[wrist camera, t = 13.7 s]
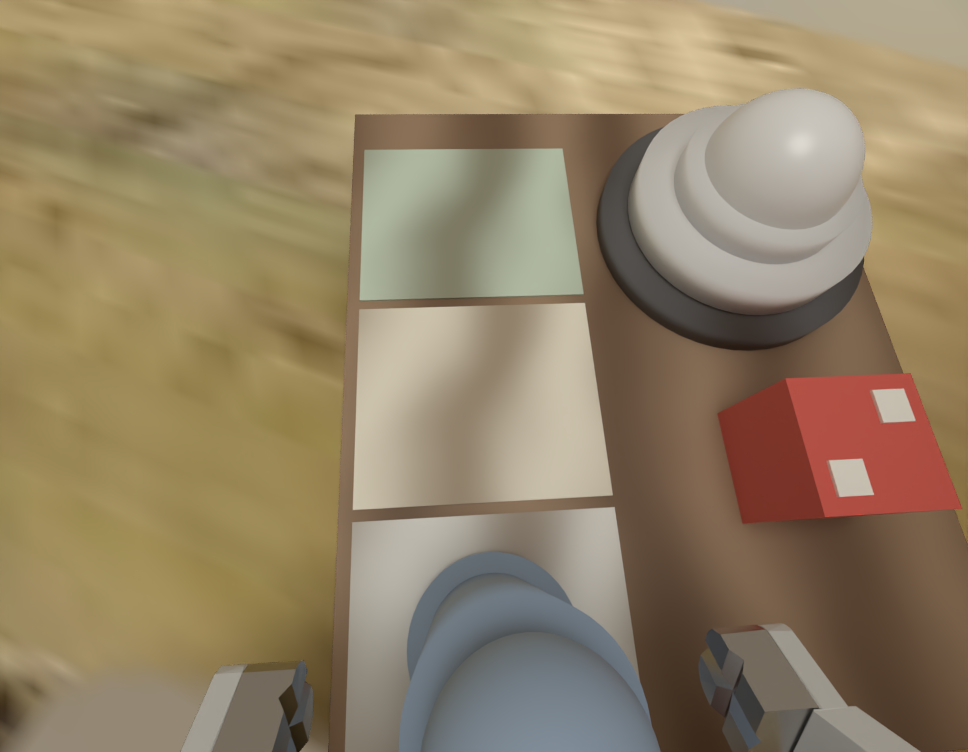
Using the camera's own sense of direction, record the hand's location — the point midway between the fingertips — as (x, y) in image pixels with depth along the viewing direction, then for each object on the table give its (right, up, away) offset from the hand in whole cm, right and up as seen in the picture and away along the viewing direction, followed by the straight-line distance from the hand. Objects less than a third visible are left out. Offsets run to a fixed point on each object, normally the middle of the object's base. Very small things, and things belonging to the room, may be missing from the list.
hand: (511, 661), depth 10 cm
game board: (+5, +6, +10) cm, 13 cm away
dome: (+10, +12, +10) cm, 19 cm away
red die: (+10, +3, +8) cm, 13 cm away
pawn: (0, -3, +5) cm, 6 cm away
